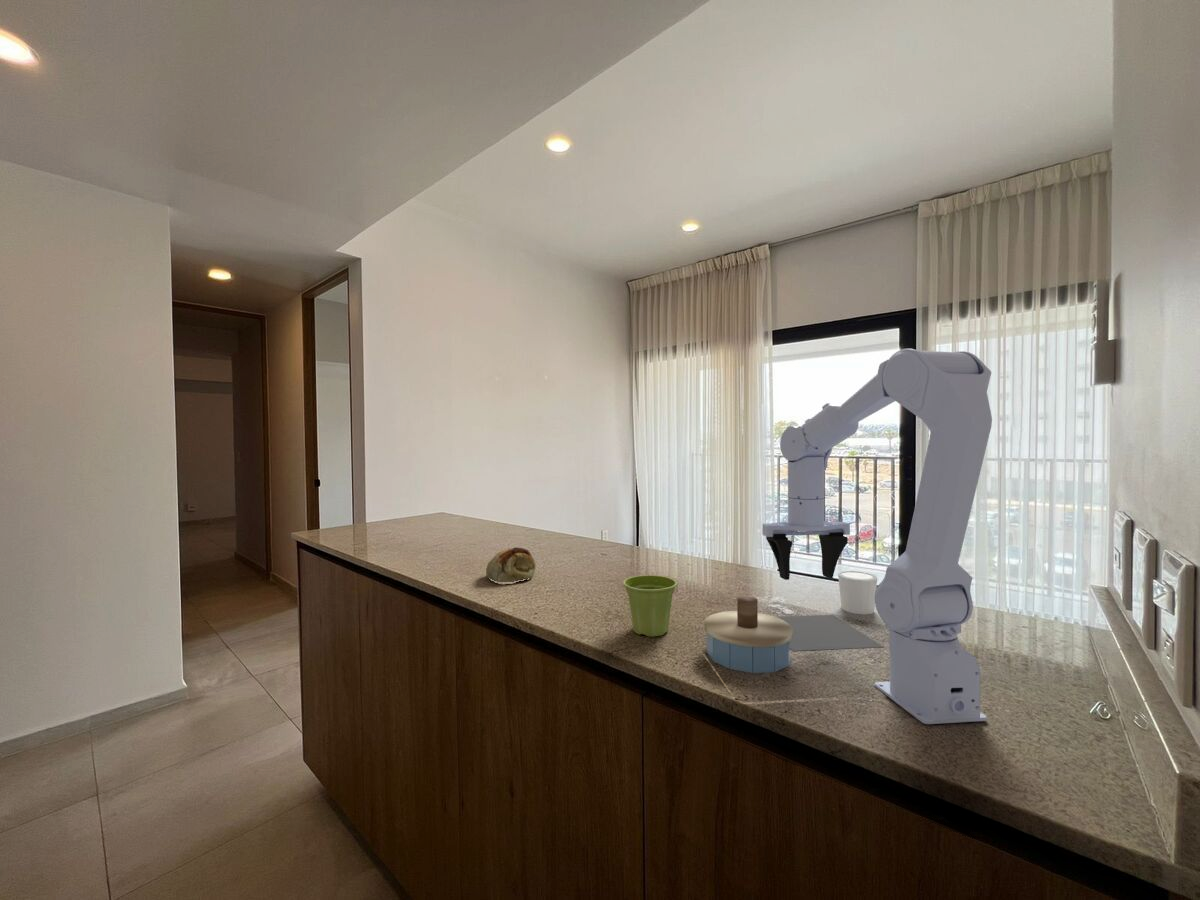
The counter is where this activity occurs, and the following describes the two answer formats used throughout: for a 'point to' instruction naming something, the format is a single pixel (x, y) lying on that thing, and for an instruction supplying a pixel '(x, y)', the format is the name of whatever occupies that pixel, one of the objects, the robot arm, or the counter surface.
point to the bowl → (748, 656)
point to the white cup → (857, 592)
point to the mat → (825, 634)
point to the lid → (748, 626)
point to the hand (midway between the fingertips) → (806, 577)
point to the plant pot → (650, 603)
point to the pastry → (511, 565)
